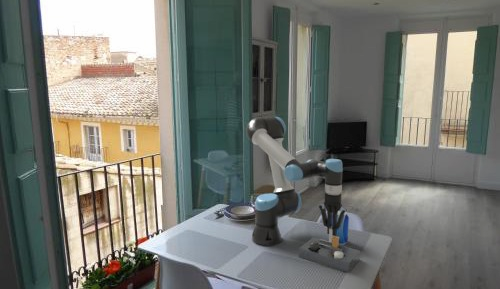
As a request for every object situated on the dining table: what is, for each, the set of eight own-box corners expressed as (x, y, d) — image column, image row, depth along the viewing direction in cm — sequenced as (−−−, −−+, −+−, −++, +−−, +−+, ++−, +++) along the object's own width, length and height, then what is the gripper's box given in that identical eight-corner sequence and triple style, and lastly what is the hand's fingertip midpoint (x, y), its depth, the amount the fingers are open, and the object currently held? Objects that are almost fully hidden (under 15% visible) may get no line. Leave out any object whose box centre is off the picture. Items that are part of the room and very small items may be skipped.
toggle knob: (331, 247, 165) (331, 238, 164) (334, 245, 167) (334, 235, 167) (336, 249, 163) (336, 239, 163) (339, 246, 166) (339, 237, 165)
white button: (332, 261, 157) (332, 253, 157) (336, 257, 160) (336, 250, 160) (341, 263, 155) (341, 256, 154) (344, 260, 158) (344, 252, 157)
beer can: (348, 246, 176) (349, 216, 174) (330, 245, 178) (331, 214, 175) (346, 239, 184) (348, 210, 182) (330, 238, 186) (331, 209, 183)
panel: (298, 256, 166) (299, 246, 165) (312, 246, 177) (312, 236, 176) (348, 272, 152) (349, 261, 151) (359, 260, 163) (360, 249, 162)
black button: (308, 250, 164) (308, 243, 163) (312, 247, 167) (312, 240, 167) (316, 252, 162) (316, 245, 161) (320, 249, 165) (320, 242, 164)
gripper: (316, 192, 163) (315, 240, 167) (343, 197, 156) (341, 247, 159) (323, 188, 169) (322, 235, 173) (349, 193, 161) (347, 242, 165)
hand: (331, 241), depth 166 cm, fingers closed
